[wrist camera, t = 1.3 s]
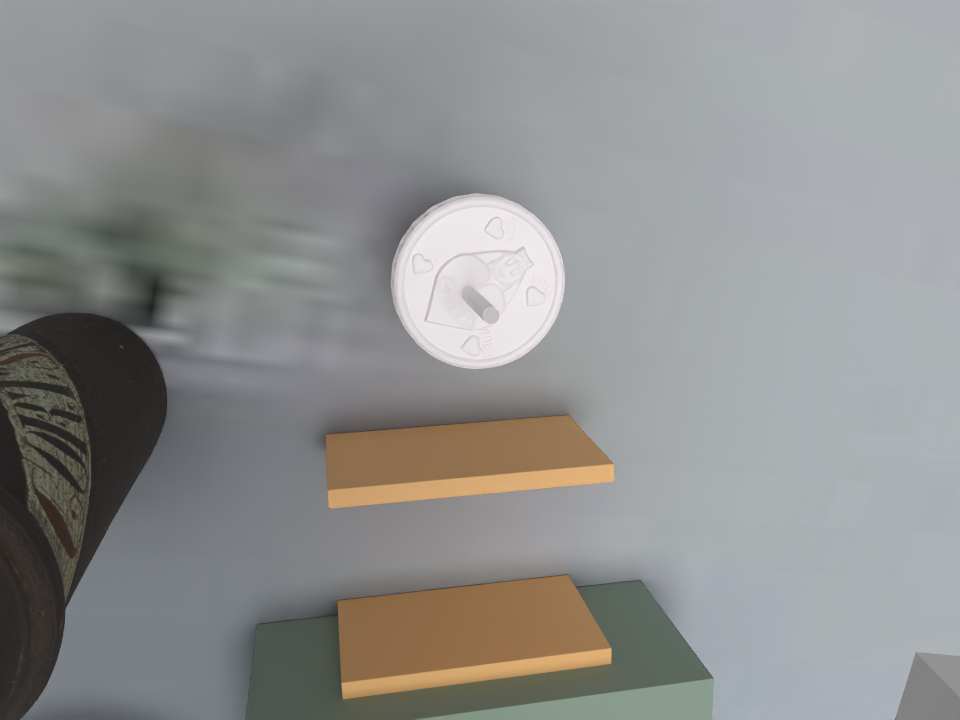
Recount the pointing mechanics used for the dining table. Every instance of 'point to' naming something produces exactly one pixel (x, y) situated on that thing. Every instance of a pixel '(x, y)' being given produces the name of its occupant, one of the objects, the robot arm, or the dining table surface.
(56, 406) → the container
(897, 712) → the robot arm
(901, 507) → the dining table surface
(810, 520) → the dining table surface
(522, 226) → the smoothie
